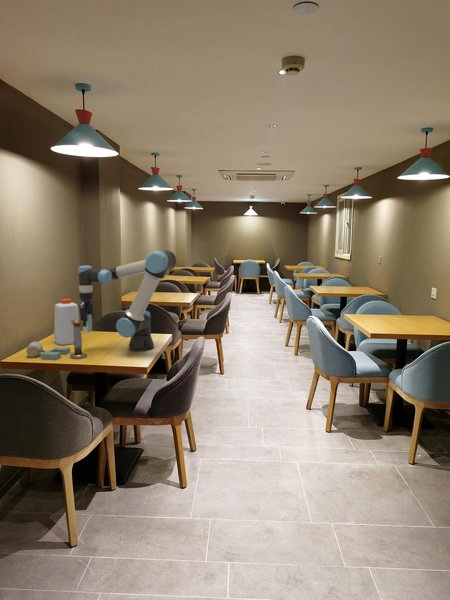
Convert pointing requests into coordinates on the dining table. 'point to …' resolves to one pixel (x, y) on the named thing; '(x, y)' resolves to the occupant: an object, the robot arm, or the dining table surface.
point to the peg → (89, 322)
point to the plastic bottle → (65, 322)
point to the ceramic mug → (35, 349)
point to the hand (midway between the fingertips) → (87, 330)
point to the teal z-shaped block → (55, 353)
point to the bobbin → (77, 340)
